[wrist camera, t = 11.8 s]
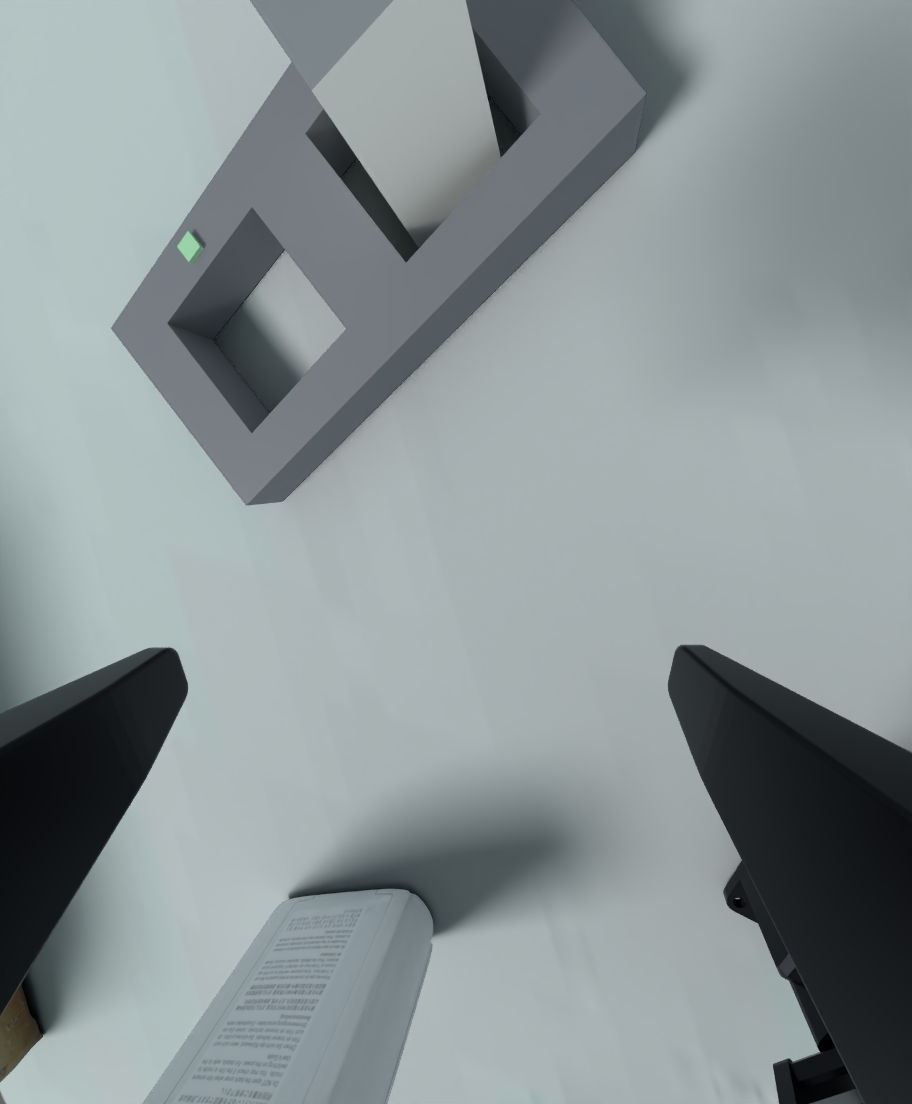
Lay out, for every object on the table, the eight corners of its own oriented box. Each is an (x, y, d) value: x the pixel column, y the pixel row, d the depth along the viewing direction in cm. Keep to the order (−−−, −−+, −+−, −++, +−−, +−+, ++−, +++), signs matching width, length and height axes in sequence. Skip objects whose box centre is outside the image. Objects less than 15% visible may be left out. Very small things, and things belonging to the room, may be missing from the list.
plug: (506, 182, 17) (363, -456, 5) (422, 253, 18) (157, -136, 6) (443, 70, 16) (153, -841, 5) (363, 149, 18) (-17, -438, 6)
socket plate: (634, 152, 15) (647, 88, 13) (282, 501, 22) (242, 505, 19) (462, -65, 16) (441, -171, 13) (161, 344, 22) (106, 326, 19)
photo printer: (300, 953, 27) (90, 1325, 15) (273, 892, 27) (37, 1226, 15) (447, 943, 24) (327, 1402, 12) (418, 875, 24) (266, 1279, 12)
